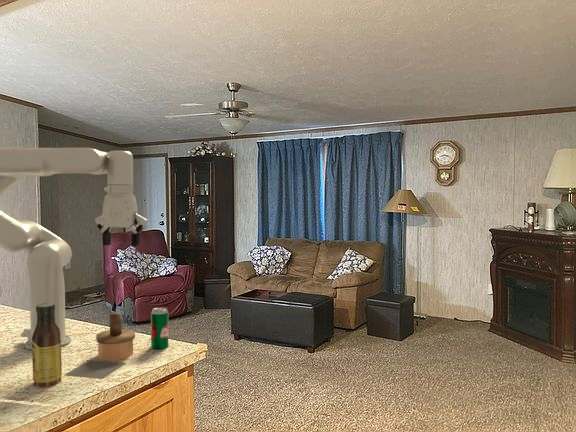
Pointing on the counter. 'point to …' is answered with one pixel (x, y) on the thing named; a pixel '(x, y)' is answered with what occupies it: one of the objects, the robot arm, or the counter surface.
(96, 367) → the mat
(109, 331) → the lid
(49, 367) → the sauce bottle
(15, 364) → the counter surface
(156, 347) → the soda can
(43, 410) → the counter surface
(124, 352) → the bowl
